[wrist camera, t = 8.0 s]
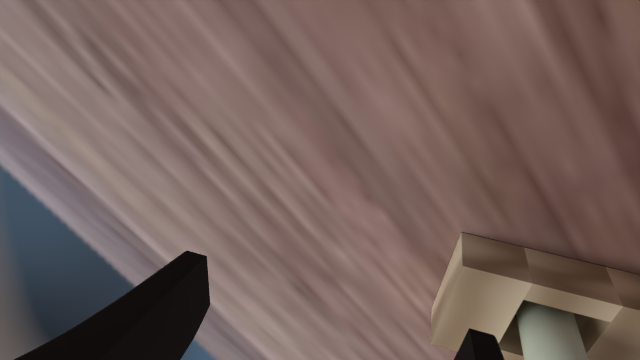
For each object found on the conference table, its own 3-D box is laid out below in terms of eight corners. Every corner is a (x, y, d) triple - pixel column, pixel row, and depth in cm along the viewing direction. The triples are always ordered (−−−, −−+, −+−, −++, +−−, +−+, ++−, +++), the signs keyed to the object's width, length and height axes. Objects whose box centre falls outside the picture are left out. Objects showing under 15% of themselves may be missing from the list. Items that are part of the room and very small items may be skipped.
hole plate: (675, 283, 20) (701, 326, 18) (612, 357, 23) (628, 400, 21) (461, 232, 21) (462, 265, 19) (431, 308, 25) (430, 344, 22)
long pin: (567, 279, 21) (617, 427, 15) (567, 314, 22) (613, 466, 16) (512, 279, 22) (537, 419, 16) (514, 314, 23) (538, 456, 17)
